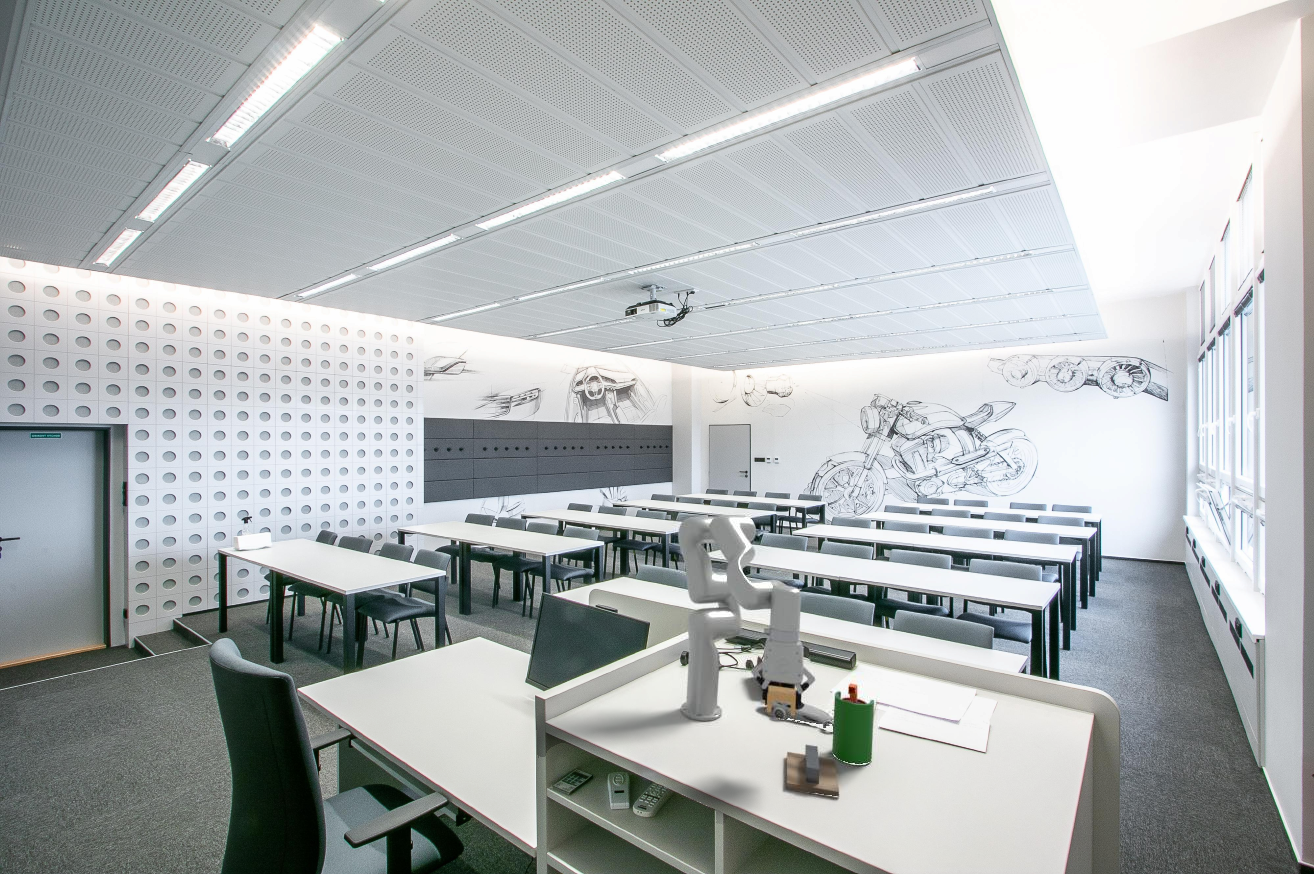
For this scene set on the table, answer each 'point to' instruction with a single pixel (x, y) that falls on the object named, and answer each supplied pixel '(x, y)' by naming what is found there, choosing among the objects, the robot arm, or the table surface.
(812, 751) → the rail
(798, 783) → the rail base
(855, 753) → the motor
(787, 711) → the car model
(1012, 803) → the table surface
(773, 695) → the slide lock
